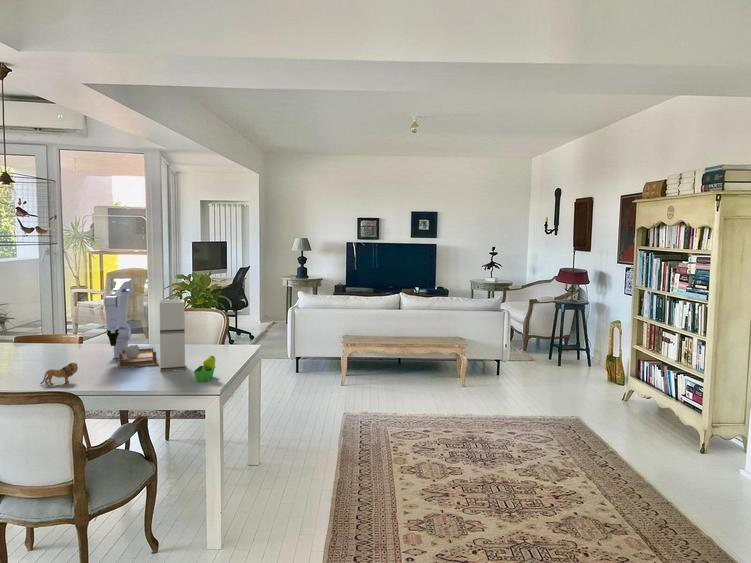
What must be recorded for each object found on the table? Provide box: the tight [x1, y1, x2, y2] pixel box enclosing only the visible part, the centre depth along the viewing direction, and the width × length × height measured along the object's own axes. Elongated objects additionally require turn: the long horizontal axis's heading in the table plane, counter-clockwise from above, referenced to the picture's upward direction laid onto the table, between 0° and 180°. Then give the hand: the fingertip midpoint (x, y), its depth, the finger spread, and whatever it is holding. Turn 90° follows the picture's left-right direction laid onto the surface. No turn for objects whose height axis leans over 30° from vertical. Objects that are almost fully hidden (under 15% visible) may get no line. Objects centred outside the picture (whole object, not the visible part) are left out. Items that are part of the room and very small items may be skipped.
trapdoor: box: [122, 345, 153, 360], centre depth 263 cm, size 10×14×3 cm
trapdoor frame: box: [116, 346, 160, 370], centre depth 263 cm, size 18×19×6 cm
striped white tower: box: [159, 299, 186, 372], centre depth 253 cm, size 11×11×35 cm
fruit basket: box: [193, 355, 216, 382], centre depth 237 cm, size 11×9×11 cm
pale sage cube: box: [125, 344, 140, 358], centre depth 258 cm, size 4×4×5 cm
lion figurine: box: [39, 362, 79, 386], centre depth 225 cm, size 15×5×9 cm, turn 119°
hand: (113, 344), depth 260 cm, fingers open, 7 cm apart
